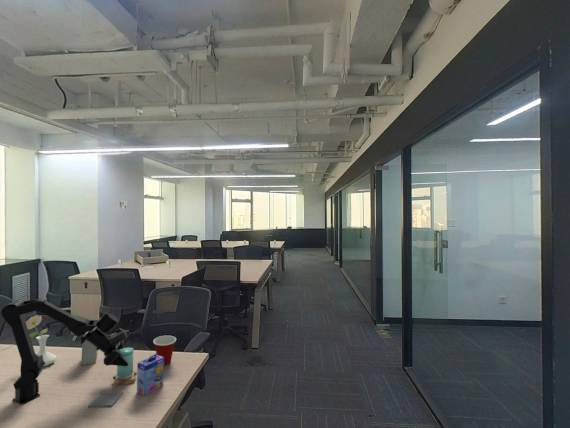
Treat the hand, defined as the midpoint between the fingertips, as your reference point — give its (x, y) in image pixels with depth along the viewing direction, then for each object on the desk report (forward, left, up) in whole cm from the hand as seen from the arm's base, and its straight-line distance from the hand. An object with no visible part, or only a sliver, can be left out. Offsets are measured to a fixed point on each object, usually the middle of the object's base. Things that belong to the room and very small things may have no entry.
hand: (128, 361), depth 139 cm
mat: (-15, -5, -8) cm, 18 cm away
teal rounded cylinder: (-1, +1, -5) cm, 5 cm away
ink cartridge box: (-2, -15, -8) cm, 17 cm away
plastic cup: (+18, -4, -8) cm, 20 cm away
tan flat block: (-1, +1, -8) cm, 8 cm away
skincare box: (+6, +33, -8) cm, 35 cm away
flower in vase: (-6, +52, -8) cm, 53 cm away
